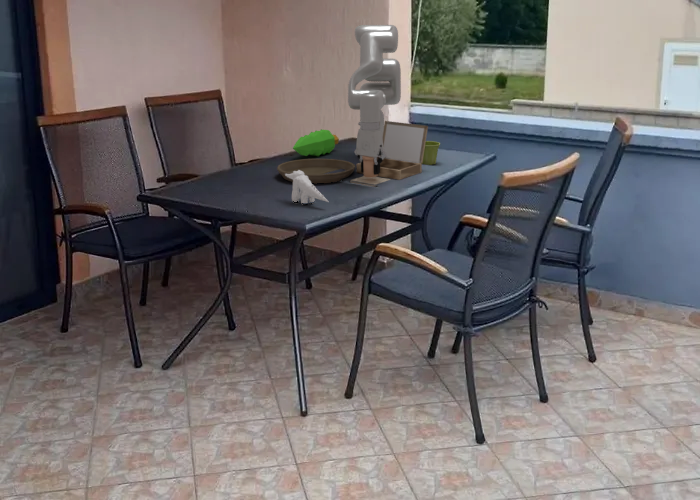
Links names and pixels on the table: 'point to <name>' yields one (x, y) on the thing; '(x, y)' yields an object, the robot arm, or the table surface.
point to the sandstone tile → (369, 180)
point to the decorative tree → (316, 143)
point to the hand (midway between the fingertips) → (370, 172)
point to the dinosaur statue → (304, 188)
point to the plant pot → (430, 152)
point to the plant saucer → (317, 169)
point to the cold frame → (396, 169)
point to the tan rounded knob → (368, 166)
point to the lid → (404, 141)
